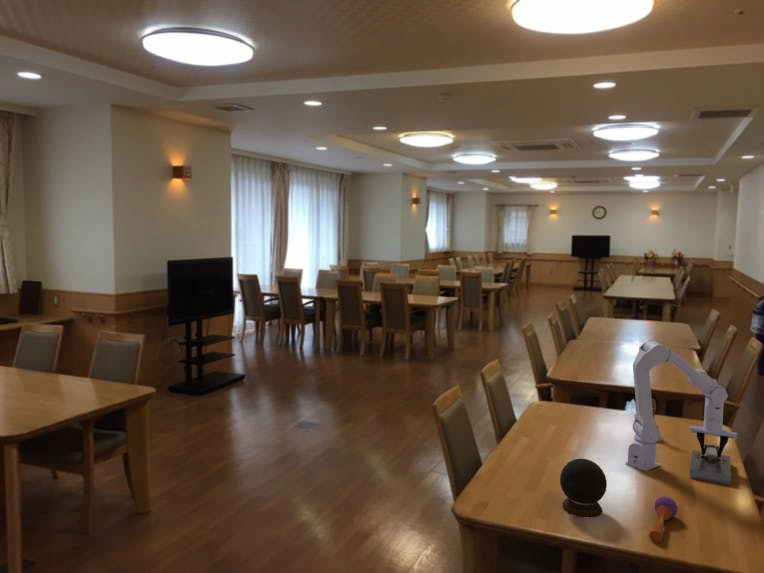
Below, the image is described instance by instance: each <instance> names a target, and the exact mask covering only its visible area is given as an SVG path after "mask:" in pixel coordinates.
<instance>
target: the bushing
mask: <svg viewBox="0 0 764 573" xmlns="http://www.w3.org/2000/svg"><path fill="white" fill-rule="evenodd" d="M718 454H719V445H717V444H714V443H704V459H705V460H707V461H711V462H717V461H718Z"/></svg>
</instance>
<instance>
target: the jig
mask: <svg viewBox="0 0 764 573" xmlns="http://www.w3.org/2000/svg"><path fill="white" fill-rule="evenodd" d="M689 478H690V479H695V480H702V481H707V482H712V483H717V484H722V485H726V486H727V485H728V486H731V485H732V465H731V455H724V454H721V458H718V461H717V462H711V461H707V460H705V459H704V455H702V450H701V451H700V450H694V449H692V450H691V458H690V468H689Z"/></svg>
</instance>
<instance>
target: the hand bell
mask: <svg viewBox="0 0 764 573" xmlns="http://www.w3.org/2000/svg"><path fill="white" fill-rule="evenodd" d="M652 410H653V416H654V419H655V418H656V417H655V416H656V412H657V402H656V400H655V398H652ZM655 420H656V419H655ZM656 426H657V428H658V430H659V425H658V424H656ZM659 431H660V430H659ZM663 440H664V438H663V436H662V435H661V434H660V437H659V439H658V440H657V442H661V441H662V442H663ZM657 442H656V443H657Z"/></svg>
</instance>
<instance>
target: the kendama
mask: <svg viewBox="0 0 764 573" xmlns="http://www.w3.org/2000/svg"><path fill="white" fill-rule="evenodd" d="M654 510H655V512H656V515H657V517H658V520H657V522H656V523H655V524H654V526H653V527H652V529H651V530H650V532H649V534H648V536H649V539H650V540H651V541H652V542H657V543H661V542H662V541H663V540H664V539H663V538H664V527H665V521H668V520H670V519H672V518H674V517H675V516H676V515H677V514H678V505H677V502H676V501H675V500H674V499H673V498H671V497H668V496H660V497H658V498H657V499H656V501H655V502H654Z"/></svg>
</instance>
